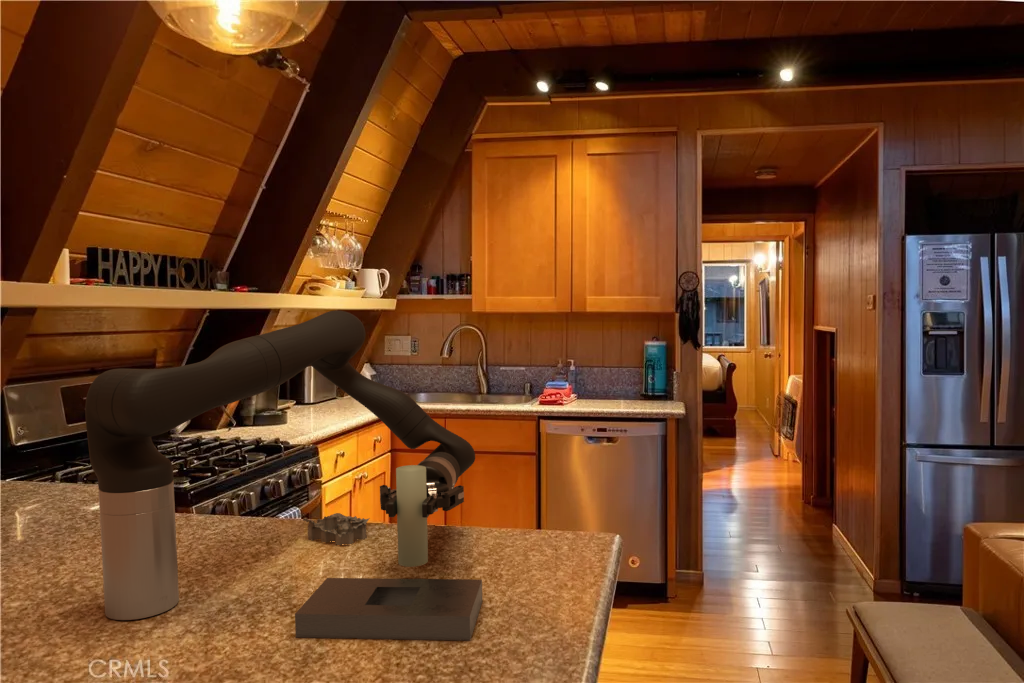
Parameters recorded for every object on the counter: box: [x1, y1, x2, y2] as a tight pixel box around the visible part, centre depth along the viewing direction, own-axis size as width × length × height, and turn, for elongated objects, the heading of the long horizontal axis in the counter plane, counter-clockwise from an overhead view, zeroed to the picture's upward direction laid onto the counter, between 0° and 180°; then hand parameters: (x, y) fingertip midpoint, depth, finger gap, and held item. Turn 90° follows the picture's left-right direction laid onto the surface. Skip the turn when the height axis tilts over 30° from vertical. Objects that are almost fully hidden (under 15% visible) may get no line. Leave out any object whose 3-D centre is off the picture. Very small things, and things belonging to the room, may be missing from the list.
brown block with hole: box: [294, 577, 484, 642], centre depth 96 cm, size 22×12×3 cm, turn 85°
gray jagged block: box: [302, 512, 371, 545], centre depth 131 cm, size 11×8×4 cm
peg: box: [395, 464, 429, 568], centre depth 108 cm, size 4×4×14 cm
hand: (407, 510), depth 106 cm, fingers closed on peg, 4 cm apart
